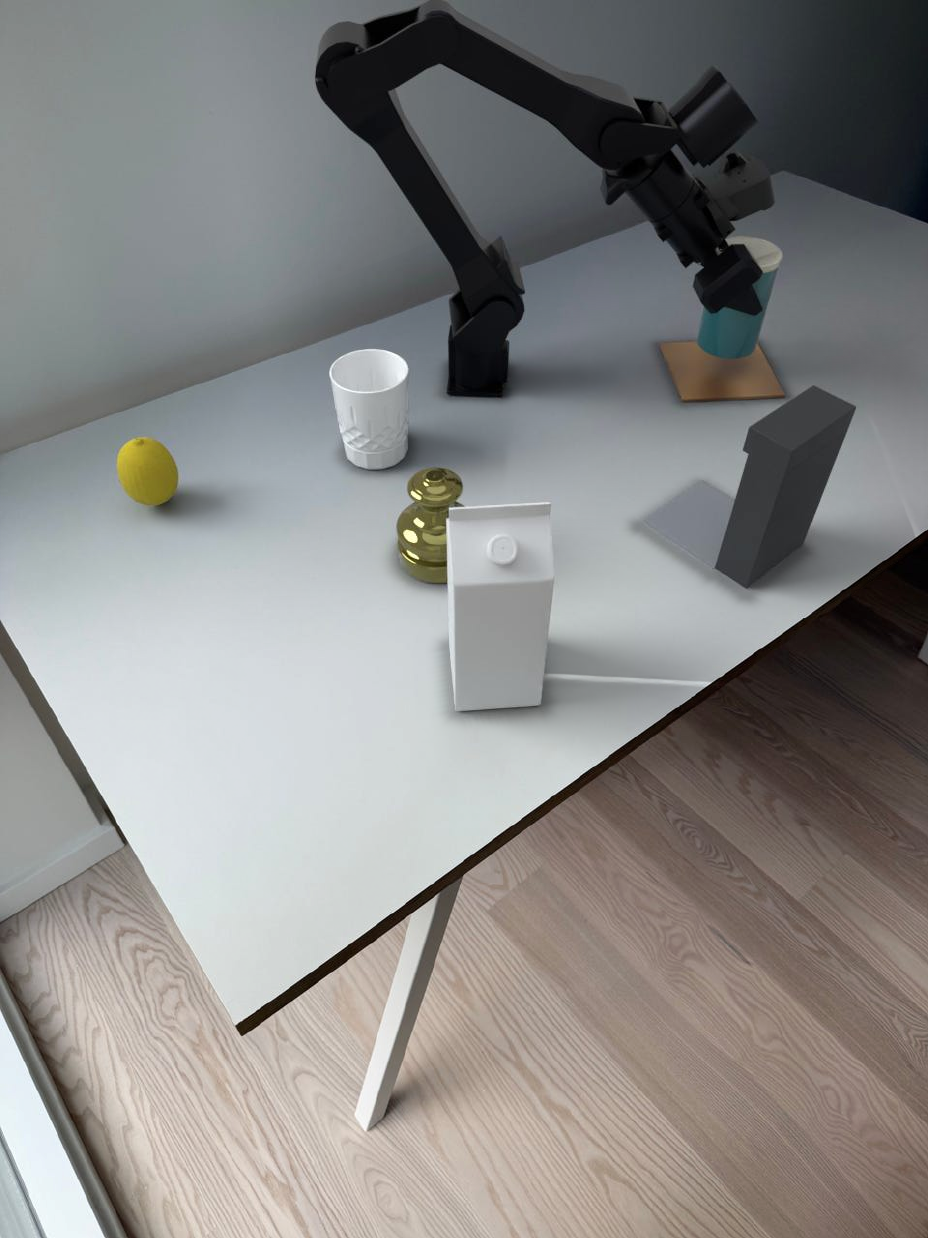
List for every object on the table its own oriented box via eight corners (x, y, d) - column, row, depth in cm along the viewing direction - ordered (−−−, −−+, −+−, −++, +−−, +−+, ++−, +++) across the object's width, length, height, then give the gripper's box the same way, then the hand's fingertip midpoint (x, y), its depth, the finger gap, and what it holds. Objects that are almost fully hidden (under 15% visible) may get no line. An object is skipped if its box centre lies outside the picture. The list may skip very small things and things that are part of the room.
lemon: (196, 492, 92) (177, 428, 86) (167, 526, 88) (145, 462, 82) (149, 481, 93) (128, 417, 87) (119, 514, 89) (94, 450, 84)
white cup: (402, 478, 93) (397, 396, 86) (330, 468, 94) (319, 387, 87) (420, 433, 98) (416, 353, 91) (351, 425, 99) (342, 344, 92)
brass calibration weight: (419, 595, 82) (414, 513, 75) (386, 546, 86) (378, 464, 79) (489, 569, 84) (492, 487, 77) (454, 522, 89) (453, 440, 81)
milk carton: (448, 646, 78) (445, 475, 64) (529, 641, 78) (543, 470, 64) (455, 712, 73) (452, 544, 59) (541, 706, 74) (558, 537, 59)
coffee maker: (639, 527, 88) (668, 384, 76) (701, 485, 92) (737, 344, 80) (742, 596, 82) (790, 452, 70) (803, 548, 86) (859, 404, 74)
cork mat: (682, 402, 102) (683, 399, 102) (659, 345, 110) (660, 342, 110) (784, 397, 103) (785, 394, 103) (754, 341, 111) (755, 339, 111)
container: (737, 366, 100) (762, 273, 92) (684, 344, 104) (703, 252, 95) (767, 341, 104) (794, 249, 96) (714, 320, 107) (736, 229, 99)
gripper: (766, 176, 81) (845, 287, 89) (713, 102, 93) (787, 206, 102) (665, 263, 86) (749, 359, 95) (627, 182, 98) (705, 274, 107)
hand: (749, 295), depth 100 cm, fingers closed on container, 7 cm apart
